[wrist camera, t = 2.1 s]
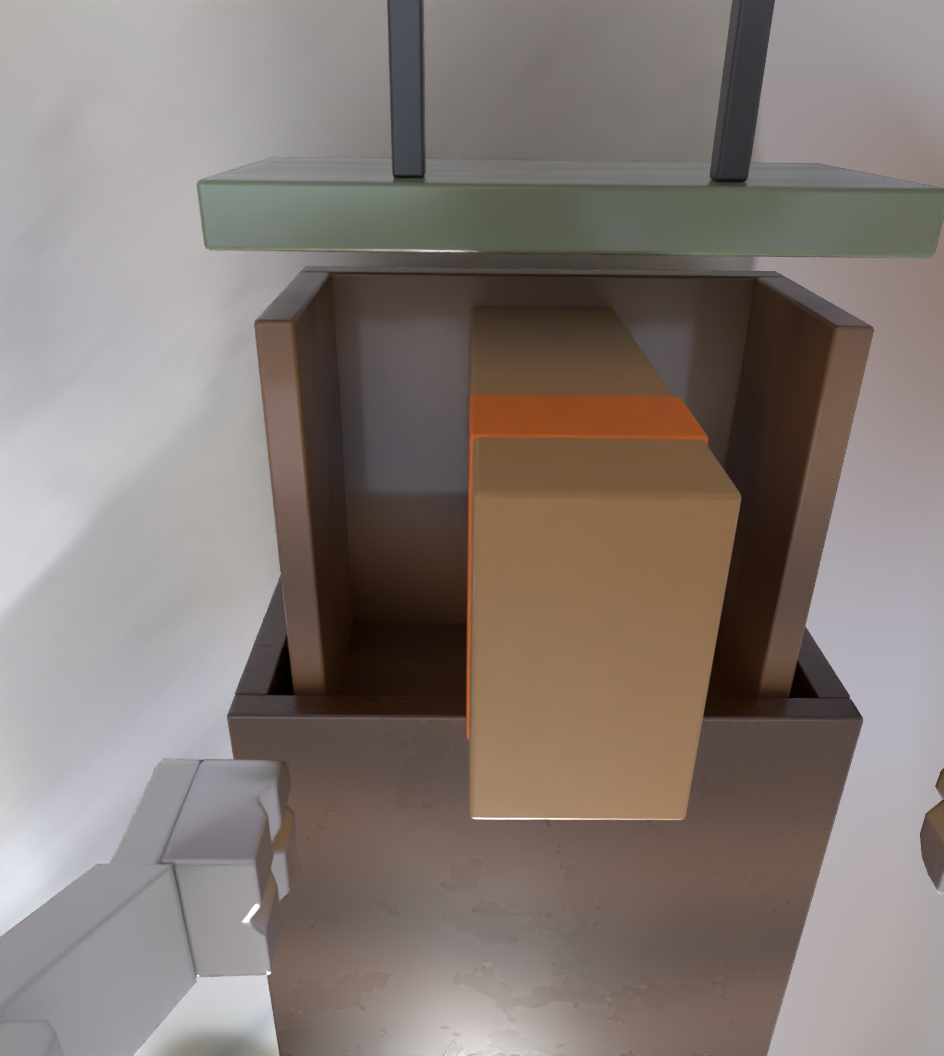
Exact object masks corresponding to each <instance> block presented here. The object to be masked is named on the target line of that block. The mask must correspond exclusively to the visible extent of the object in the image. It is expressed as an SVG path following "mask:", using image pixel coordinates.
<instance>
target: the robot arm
mask: <svg viewBox="0 0 944 1056" xmlns="http://www.w3.org/2000/svg"><path fill="white" fill-rule="evenodd" d="M935 787H936V789H937V790H938V792H939V794H940V796H941V797H942V799H943V800H942V801H941V802H940V803H938V804H937V805H936V806H935V807H933V808H932V809H931V810H930V811H929V812H927V813H926V815H925V819H924V822H923V826H922V829H921V832H920V838H921V851H922V858H923V861H924V864H925V867H926V870H927V872H928V875H929V876H930V878H931V880H932V882H933V883H934V885H935V887H936V889H937V890H938V892H939V893H941V894H942V895H944V769H942V770H941V772H940V775H939V778H938V780H937V783H936V786H935ZM290 789H291V779H290V772H289V766H288V764H287V763H286V762H285V761H270V760H232V759H205V760H196V759H165V758H164V759H163V760H162V761H161V762H160V763H159V764H158V765H157V766H156V767H155V768H154V771H153V773H152V775H151V777H150V779H149V781H148V783H147V785H146V788H145V790H144V792H143V794H142V796H141V798H140V800H139V803H138V805H137V807H136V809H135V811H134V813H133V815H132V817H131V820H130V822H129V824H128V826H127V828H126V830H125V832H124V834H123V837H122V839H121V841H120V843H119V845H118V847H117V849H116V852H115V854H114V856H113V858H112V860H111V862H110V864H96V865H95V866H94V867H92V868H91V869H90V870H88V871H87V872H86V873H85V874H83V875H82V876H81V877H79V878H78V879H77V880H75V881H74V882H73V883H71V884H70V885H69V886H67V887H66V888H65V889H63V890H62V891H61V892H59V893H58V894H57V895H55V896H54V897H53V898H51V899H50V900H49V901H47V902H46V903H45V904H43V905H42V906H41V907H39V908H38V909H37V910H35V911H34V912H33V913H31V914H30V915H29V916H27V917H26V918H25V919H23V920H22V921H21V922H20V923H18V924H17V925H16V926H14V927H13V928H12V929H10V930H9V931H8V932H6V933H5V934H4V935H2V936H1V937H0V1056H133V1055H134V1053H135V1052H136V1051H137V1050H138V1049H139V1048H140V1046H141V1045H142V1044H143V1043H144V1042H145V1041H146V1039H147V1038H148V1037H149V1036H150V1035H151V1034H152V1033H153V1031H154V1030H155V1029H156V1028H157V1027H158V1026H159V1024H160V1023H161V1022H162V1021H163V1020H164V1019H165V1018H166V1016H167V1015H168V1014H169V1013H170V1012H171V1011H172V1009H173V1008H174V1007H175V1006H176V1005H177V1004H178V1002H179V1001H180V1000H181V999H182V998H183V997H184V996H185V994H186V993H187V992H188V991H189V990H190V989H191V987H192V986H193V985H194V984H195V983H196V977H216V976H249V975H271V971H272V966H273V962H274V958H275V953H276V949H277V944H278V940H279V936H280V931H281V927H282V918H281V910H280V902H279V901H280V900H281V899H282V898H283V897H284V896H285V895H286V894H287V893H288V892H289V891H290V886H291V881H292V876H293V871H294V862H295V852H296V823H295V813H294V811H293V810H292V809H291V808H290V807H288V806H287V801H288V797H289V793H290Z"/></svg>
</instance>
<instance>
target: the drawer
mask: <svg viewBox="0 0 944 1056" xmlns="http://www.w3.org/2000/svg"><path fill="white" fill-rule="evenodd" d="M774 1H775V0H732V8H731V15H730V23H729V31H728V38H727V46H726V54H725V61H724V69H723V77H722V84H721V92H720V99H719V107H718V115H717V122H716V130H715V138H714V145H713V153H712V161H711V162H660V161H580V160H499V159H426V141H425V59H424V0H387V8H388V43H389V77H390V111H391V145H392V158H339V157H270V158H267V159H264V160H261V161H257V162H254V163H251V164H248V165H245V166H242V167H239V168H236V169H232V170H229V171H226V172H223V173H220V174H217V175H214V176H211V177H208V178H204V179H201V180H199V181H198V182H197V191H198V199H199V207H200V214H201V222H202V230H203V238H204V245H205V247H206V249H209V250H237V251H326V252H415V253H504V254H593V255H682V256H771V257H772V256H773V257H775V256H776V257H859V258H860V257H861V258H930V257H933V256H934V254H935V251H936V247H937V243H938V239H939V235H940V231H941V227H942V224H943V220H944V188H940V187H935V186H930V185H925V184H920V183H915V182H910V181H905V180H900V179H895V178H890V177H884V176H879V175H874V174H869V173H863V172H859V171H853V170H849V169H844V168H838V167H833V166H828V165H822V164H818V163H750V161H751V155H752V148H753V141H754V135H755V128H756V121H757V115H758V108H759V101H760V95H761V88H762V81H763V75H764V68H765V62H766V55H767V48H768V42H769V35H770V28H771V22H772V15H773V8H774ZM474 307H497V308H592V309H613V310H615V312H616V313H617V315H618V316H619V318H620V319H621V321H622V322H623V324H624V325H625V326H626V328H627V329H628V331H629V332H630V334H631V335H632V337H633V338H634V340H635V341H636V342H637V344H638V345H639V347H640V348H641V350H642V351H643V353H644V354H645V356H646V357H647V358H648V360H649V361H650V363H651V364H652V366H653V367H654V369H655V370H656V372H657V373H658V374H659V376H660V377H661V379H662V380H663V382H664V383H665V385H666V386H667V388H668V389H669V390H670V392H671V393H672V395H673V396H678V397H680V398H681V399H682V401H683V402H684V404H685V405H686V406H687V408H688V409H689V411H690V412H691V413H692V415H693V416H694V418H695V419H696V420H697V422H698V423H699V425H700V426H701V428H702V429H703V430H704V432H705V433H706V435H707V436H708V445H707V446H708V447H709V449H710V450H711V452H712V453H713V454H714V456H715V457H716V459H717V460H718V462H719V463H720V465H721V466H722V468H723V469H724V470H725V472H726V473H727V475H728V476H729V478H730V479H731V481H732V482H733V484H734V485H735V487H736V488H737V489H738V491H739V492H740V494H741V503H740V509H739V515H738V520H737V526H736V532H735V537H734V543H733V549H732V554H731V560H730V566H729V571H728V577H727V583H726V589H725V594H724V600H723V606H722V611H721V617H720V623H719V628H718V634H717V640H716V646H715V651H714V657H713V663H712V668H711V674H710V680H709V685H708V691H707V697H706V698H789V694H790V690H791V686H792V681H793V677H794V673H795V668H796V664H797V660H798V655H799V651H800V647H801V642H802V638H803V634H804V629H805V625H806V621H807V617H808V612H809V608H810V604H811V599H812V595H813V591H814V586H815V582H816V577H817V573H818V568H819V565H820V560H821V556H822V552H823V548H824V543H825V539H826V534H827V530H828V526H829V522H830V517H831V513H832V509H833V504H834V500H835V496H836V491H837V487H838V483H839V479H840V474H841V470H842V466H843V461H844V457H845V453H846V448H847V444H848V440H849V435H850V431H851V427H852V423H853V418H854V414H855V410H856V405H857V401H858V397H859V392H860V388H861V384H862V379H863V375H864V371H865V366H866V362H867V358H868V354H869V349H870V344H871V341H872V336H873V332H874V329H873V327H872V326H870V325H869V324H867V323H865V322H863V321H862V320H860V319H858V318H856V317H854V316H853V315H851V314H849V313H848V312H846V311H844V310H842V309H841V308H839V307H837V306H835V305H834V304H832V303H830V302H828V301H827V300H825V299H823V298H821V297H819V296H818V295H816V294H814V293H813V292H811V291H809V290H807V289H806V288H804V287H802V286H800V285H798V284H797V283H795V282H793V281H792V280H790V279H788V278H786V277H784V276H783V275H781V274H779V273H777V272H775V271H692V270H601V269H511V268H420V267H330V266H307V267H305V268H304V269H303V270H302V271H301V272H300V273H299V274H298V275H297V276H296V277H295V279H294V280H293V281H292V282H291V283H290V284H289V285H288V286H287V287H286V288H285V289H284V290H283V291H282V292H281V294H280V295H279V296H278V297H277V298H276V299H275V300H274V301H273V302H272V303H271V304H270V305H269V306H268V307H267V309H266V310H265V311H264V312H263V313H262V314H261V315H260V316H259V317H258V318H257V319H256V320H255V323H254V328H255V338H256V347H257V356H258V366H259V375H260V384H261V394H262V403H263V412H264V422H265V431H266V440H267V450H268V459H269V468H270V478H271V487H272V496H273V506H274V515H275V524H276V534H277V543H278V552H279V562H280V571H281V580H282V590H283V599H284V608H285V618H286V627H287V636H288V646H289V655H290V664H291V674H292V683H293V692H294V695H339V696H466V665H467V572H468V480H469V394H470V311H471V308H474Z"/></svg>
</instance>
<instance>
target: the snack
mask: <svg viewBox="0 0 944 1056" xmlns="http://www.w3.org/2000/svg"><path fill="white" fill-rule="evenodd" d="M707 445H708V436H707V435H706V433H705V432H704V430H703V429H702V428H701V426H700V425H699V423H698V422H697V420H696V419H695V418H694V416H693V415H692V413H691V412H690V411H689V409H688V408H687V406H686V405H685V404H684V402H683V401H682V399H681V398H680V397H678V396H673V395H672V393H671V392H670V390H669V389H668V388H667V386H666V385H665V383H664V382H663V380H662V379H661V377H660V376H659V374H658V373H657V372H656V370H655V369H654V367H653V366H652V364H651V363H650V361H649V360H648V358H647V357H646V356H645V354H644V353H643V351H642V350H641V348H640V347H639V345H638V344H637V342H636V341H635V340H634V338H633V337H632V335H631V334H630V332H629V331H628V329H627V328H626V326H625V325H624V324H623V322H622V321H621V319H620V318H619V316H618V315H617V313H616V312H615V310H613V309H592V308H497V307H474V308H471V311H470V394H469V480H468V572H467V665H466V736H467V738H468V739H469V813H470V815H471V817H472V818H473V819H545V820H682V819H684V818H685V816H686V811H687V805H688V799H689V794H690V788H691V782H692V777H693V771H694V765H695V760H696V754H697V748H698V742H699V737H700V731H701V725H702V720H703V714H704V708H705V703H706V697H707V691H708V685H709V680H710V674H711V668H712V663H713V657H714V651H715V646H716V640H717V634H718V628H719V623H720V617H721V611H722V606H723V600H724V594H725V589H726V583H727V577H728V571H729V566H730V560H731V554H732V549H733V543H734V537H735V532H736V526H737V520H738V515H739V509H740V503H741V494H740V492H739V491H738V489H737V488H736V487H735V485H734V484H733V482H732V481H731V479H730V478H729V476H728V475H727V473H726V472H725V470H724V469H723V468H722V466H721V465H720V463H719V462H718V460H717V459H716V457H715V456H714V454H713V453H712V452H711V450H710V449H709V447H708V446H707Z"/></svg>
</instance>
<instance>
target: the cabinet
mask: <svg viewBox="0 0 944 1056" xmlns="http://www.w3.org/2000/svg"><path fill="white" fill-rule="evenodd" d="M227 720H228V726H229V733H230V739H231V746H232V752H233V759H234V760H270V761H285V762H286V763H287V764H288V766H289V772H290V779H291V789H290V793H289V797H288V801H287V806H288V807H290V808H291V809H292V810H293V811H294V813H295V823H296V852H295V862H294V871H293V876H292V881H291V886H290V891H289V892H288V893H287V894H286V895H285V896H284V897H283V898H282V899H281V900H280V901H279V902H280V910H281V918H282V927H281V931H280V936H279V940H278V944H277V949H276V953H275V958H274V962H273V966H272V971H271V975H267V978H268V984H269V991H270V997H271V1004H272V1010H273V1016H274V1023H275V1029H276V1036H277V1042H278V1049H279V1055H280V1056H767V1054H768V1050H769V1047H770V1043H771V1040H772V1036H773V1033H774V1029H775V1026H776V1022H777V1019H778V1015H779V1012H780V1008H781V1005H782V1001H783V998H784V994H785V991H786V988H787V984H788V981H789V977H790V974H791V970H792V967H793V963H794V959H795V956H796V953H797V949H798V946H799V942H800V939H801V935H802V932H803V928H804V925H805V921H806V918H807V915H808V911H809V907H810V904H811V901H812V897H813V894H814V890H815V887H816V883H817V879H818V876H819V873H820V869H821V866H822V862H823V859H824V855H825V852H826V848H827V844H828V842H829V838H830V834H831V831H832V827H833V824H834V821H835V817H836V814H837V810H838V806H839V803H840V800H841V796H842V793H843V789H844V786H845V782H846V779H847V775H848V772H849V768H850V765H851V761H852V758H853V754H854V751H855V747H856V744H857V740H858V737H859V734H860V730H861V727H862V723H863V717H862V716H861V714H860V713H859V711H858V709H857V708H856V706H855V705H854V703H853V702H852V700H851V699H850V695H849V694H848V692H847V691H846V689H845V688H844V686H843V684H842V683H841V681H840V680H839V679H838V677H837V675H836V674H835V672H834V671H833V669H832V667H831V666H830V664H829V663H828V661H827V659H826V658H825V656H824V655H823V653H822V652H821V650H820V648H819V647H818V645H817V644H816V642H815V641H814V639H813V637H812V636H811V634H810V633H809V631H808V630H807V628H806V626H805V629H804V634H803V638H802V642H801V647H800V651H799V655H798V660H797V664H796V668H795V673H794V677H793V681H792V686H791V690H790V694H789V698H706V703H705V708H704V714H703V720H702V725H701V731H700V737H699V742H698V748H697V754H696V760H695V765H694V771H693V777H692V782H691V788H690V794H689V799H688V805H687V811H686V816H685V818H684V819H682V820H545V819H473V818H472V817H471V815H470V813H469V739H468V738H467V736H466V696H339V695H294V692H293V683H292V674H291V664H290V655H289V646H288V636H287V627H286V618H285V608H284V599H283V590H282V580H281V576H280V578H279V581H278V583H277V586H276V588H275V591H274V594H273V596H272V599H271V601H270V604H269V607H268V609H267V612H266V614H265V617H264V620H263V622H262V625H261V627H260V630H259V632H258V635H257V638H256V640H255V643H254V645H253V648H252V651H251V653H250V656H249V658H248V661H247V664H246V666H245V669H244V671H243V674H242V677H241V679H240V682H239V684H238V687H237V689H236V692H235V697H234V699H233V702H232V704H231V707H230V709H229V712H228V715H227Z"/></svg>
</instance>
